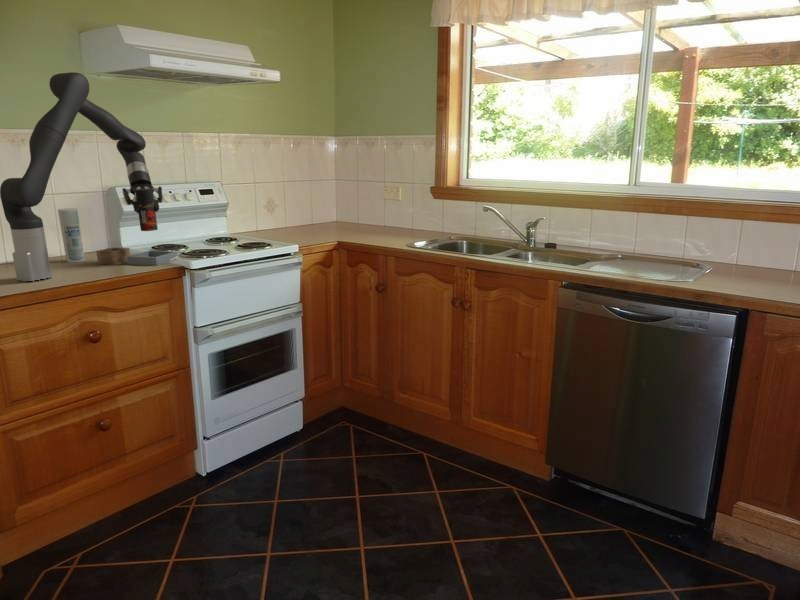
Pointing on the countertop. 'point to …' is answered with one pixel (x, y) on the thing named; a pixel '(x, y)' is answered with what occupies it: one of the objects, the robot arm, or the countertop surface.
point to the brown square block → (113, 255)
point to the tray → (151, 258)
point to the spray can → (71, 234)
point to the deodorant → (146, 209)
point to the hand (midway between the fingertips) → (147, 210)
